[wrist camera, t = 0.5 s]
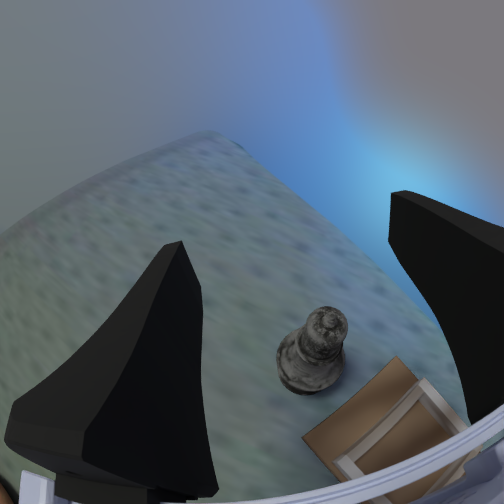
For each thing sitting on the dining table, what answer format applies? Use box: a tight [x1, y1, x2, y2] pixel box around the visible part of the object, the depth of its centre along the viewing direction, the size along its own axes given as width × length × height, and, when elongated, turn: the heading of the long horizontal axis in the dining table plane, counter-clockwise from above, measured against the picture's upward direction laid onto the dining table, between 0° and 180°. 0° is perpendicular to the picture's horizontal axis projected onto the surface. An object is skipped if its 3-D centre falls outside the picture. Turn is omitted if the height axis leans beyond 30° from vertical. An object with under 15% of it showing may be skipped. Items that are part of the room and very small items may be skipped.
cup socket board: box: [301, 356, 483, 504], centre depth 18 cm, size 18×12×3 cm, turn 35°
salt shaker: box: [276, 306, 348, 395], centre depth 21 cm, size 6×6×12 cm
